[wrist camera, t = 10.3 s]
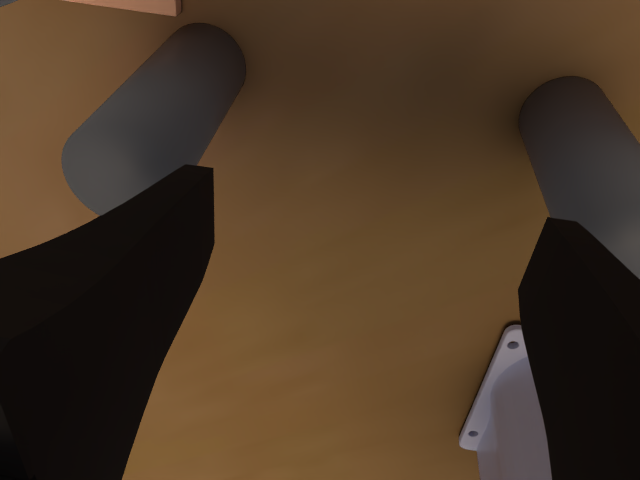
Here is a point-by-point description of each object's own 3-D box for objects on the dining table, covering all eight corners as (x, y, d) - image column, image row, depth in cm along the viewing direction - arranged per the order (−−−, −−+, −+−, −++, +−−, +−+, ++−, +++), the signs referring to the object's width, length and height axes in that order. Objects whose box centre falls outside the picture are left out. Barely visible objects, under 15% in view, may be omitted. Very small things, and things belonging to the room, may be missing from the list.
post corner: (244, 109, 22) (180, 232, 16) (167, 98, 22) (71, 216, 16) (246, 29, 20) (175, 132, 14) (162, 17, 20) (52, 114, 14)
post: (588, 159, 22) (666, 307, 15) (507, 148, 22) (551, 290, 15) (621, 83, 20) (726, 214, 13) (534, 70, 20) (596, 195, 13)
